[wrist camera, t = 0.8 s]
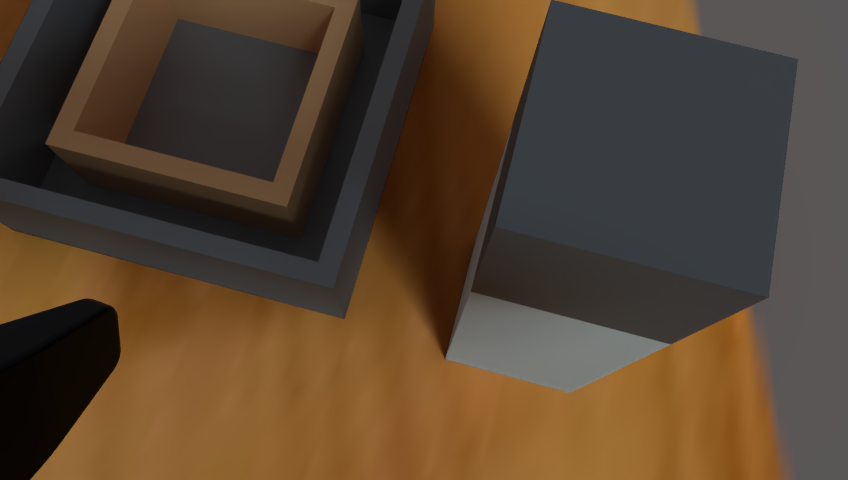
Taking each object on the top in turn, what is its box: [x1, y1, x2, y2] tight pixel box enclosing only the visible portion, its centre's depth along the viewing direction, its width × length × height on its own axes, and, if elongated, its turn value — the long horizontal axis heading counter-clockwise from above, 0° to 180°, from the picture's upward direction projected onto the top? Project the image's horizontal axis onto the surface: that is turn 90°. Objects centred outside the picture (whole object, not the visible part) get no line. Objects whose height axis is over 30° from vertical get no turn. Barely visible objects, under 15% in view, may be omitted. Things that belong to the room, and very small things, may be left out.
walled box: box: [0, 0, 435, 319], centre depth 23 cm, size 11×11×4 cm
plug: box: [445, 0, 798, 393], centre depth 17 cm, size 4×4×13 cm
